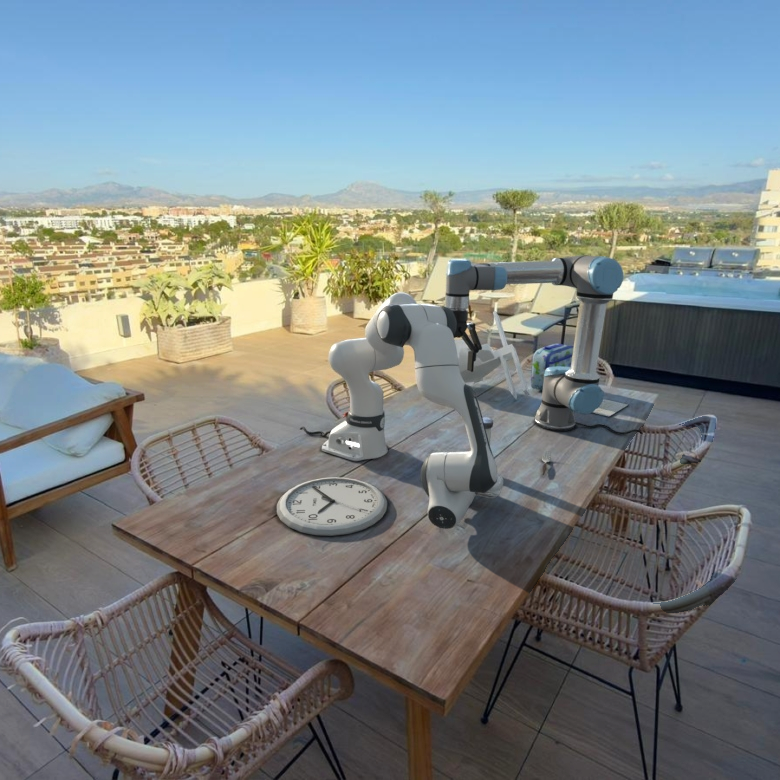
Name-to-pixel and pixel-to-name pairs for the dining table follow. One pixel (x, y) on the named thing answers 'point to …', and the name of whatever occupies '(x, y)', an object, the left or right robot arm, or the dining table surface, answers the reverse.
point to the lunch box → (549, 362)
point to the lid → (487, 422)
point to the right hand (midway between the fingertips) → (452, 372)
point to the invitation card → (609, 407)
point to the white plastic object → (490, 361)
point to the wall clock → (331, 506)
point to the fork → (545, 461)
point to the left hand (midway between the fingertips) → (472, 468)
